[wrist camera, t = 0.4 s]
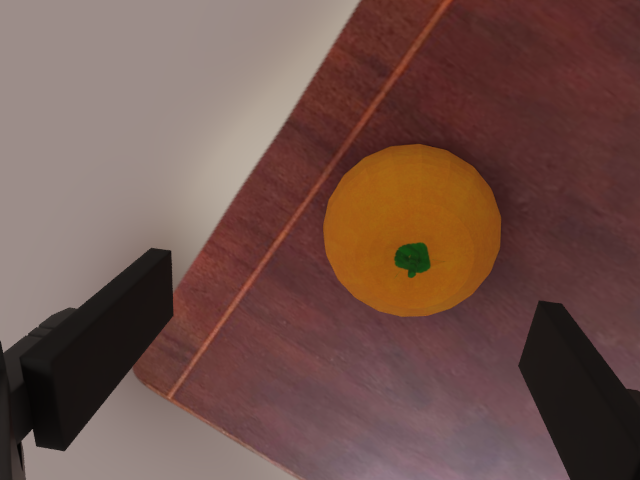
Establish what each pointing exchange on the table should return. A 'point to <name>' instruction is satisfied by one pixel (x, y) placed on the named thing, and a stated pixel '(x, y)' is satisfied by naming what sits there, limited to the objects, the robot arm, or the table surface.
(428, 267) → the fruit
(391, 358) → the table surface
